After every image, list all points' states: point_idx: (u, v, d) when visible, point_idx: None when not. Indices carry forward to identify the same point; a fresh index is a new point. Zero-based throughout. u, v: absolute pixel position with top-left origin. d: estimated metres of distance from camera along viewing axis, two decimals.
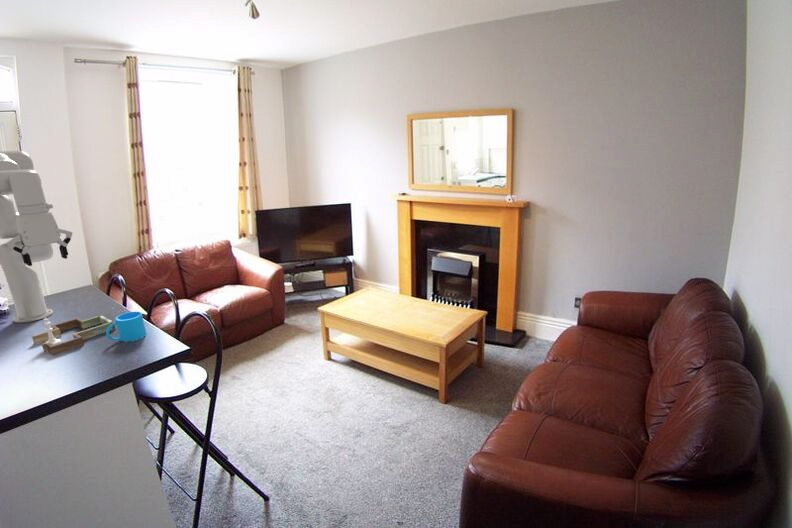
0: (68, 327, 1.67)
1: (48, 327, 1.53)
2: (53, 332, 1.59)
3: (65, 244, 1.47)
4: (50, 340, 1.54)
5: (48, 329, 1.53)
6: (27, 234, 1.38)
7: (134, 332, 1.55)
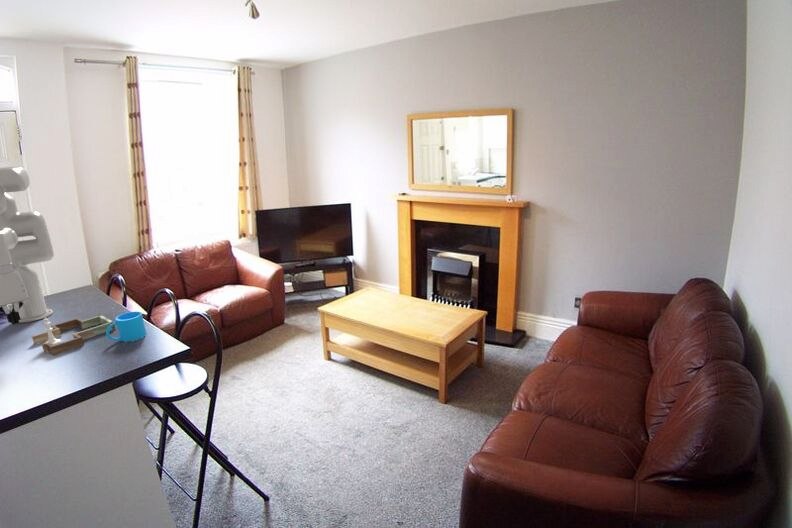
0: (68, 327, 1.67)
1: (48, 327, 1.53)
2: (53, 332, 1.59)
3: (17, 309, 1.45)
4: (50, 340, 1.54)
5: (48, 329, 1.53)
6: None
7: (134, 332, 1.55)
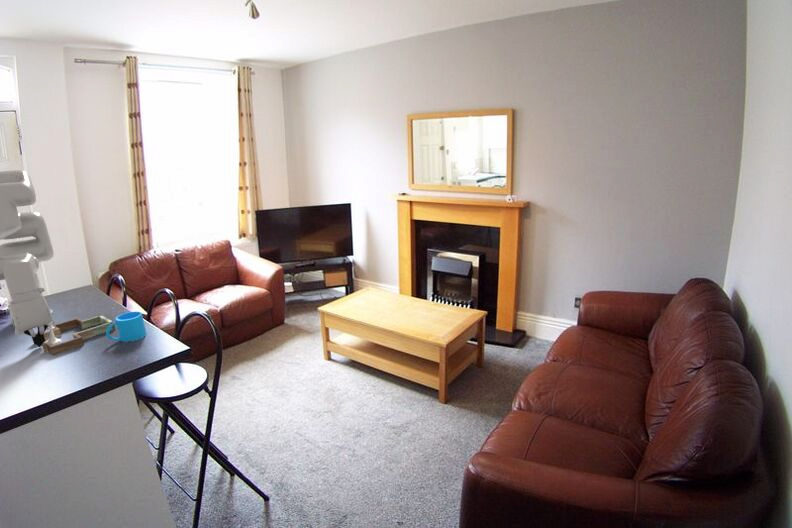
0: (68, 327, 1.67)
1: (50, 326, 1.54)
2: None
3: (42, 332, 1.51)
4: (50, 339, 1.54)
5: (50, 328, 1.53)
6: (19, 320, 1.45)
7: (134, 332, 1.55)
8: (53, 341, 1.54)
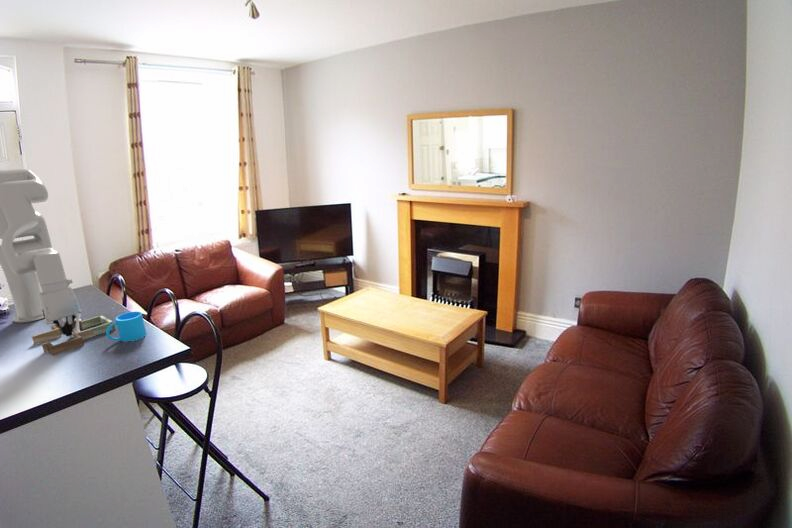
0: None
1: (78, 318, 1.59)
2: (53, 332, 1.59)
3: (70, 322, 1.57)
4: (75, 331, 1.59)
5: (77, 320, 1.59)
6: (49, 310, 1.51)
7: (134, 332, 1.55)
8: None
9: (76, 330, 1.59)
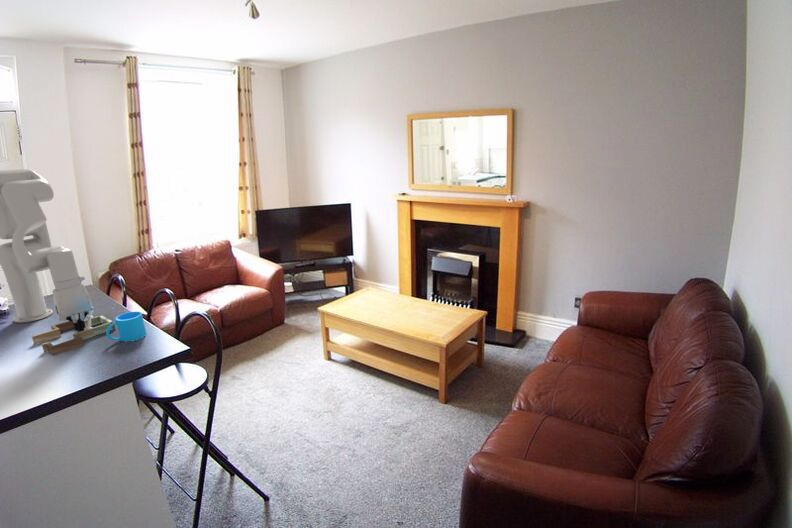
0: (68, 327, 1.67)
1: (90, 314, 1.62)
2: (53, 332, 1.59)
3: (83, 318, 1.60)
4: (87, 327, 1.62)
5: (89, 316, 1.62)
6: (62, 306, 1.54)
7: (134, 332, 1.55)
8: None
9: (88, 326, 1.62)
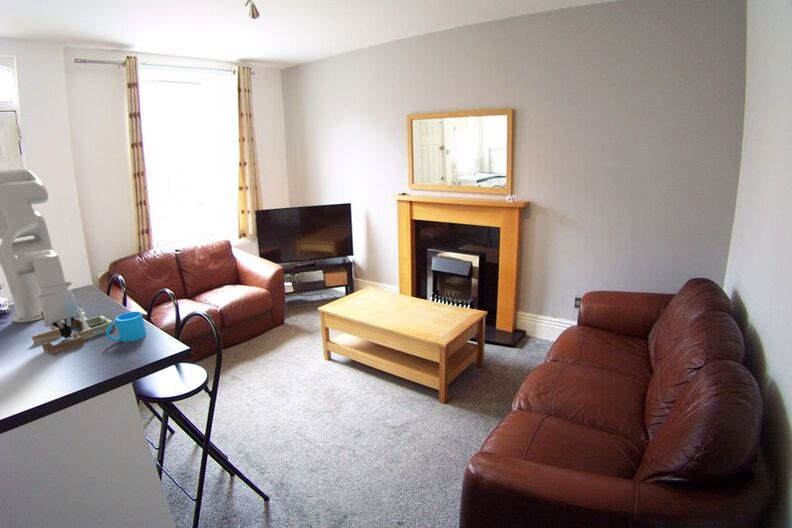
0: None
1: (83, 317, 1.60)
2: (53, 332, 1.59)
3: (69, 324, 1.57)
4: (85, 329, 1.62)
5: (83, 319, 1.60)
6: (48, 312, 1.51)
7: (134, 332, 1.55)
8: None
9: (86, 329, 1.62)
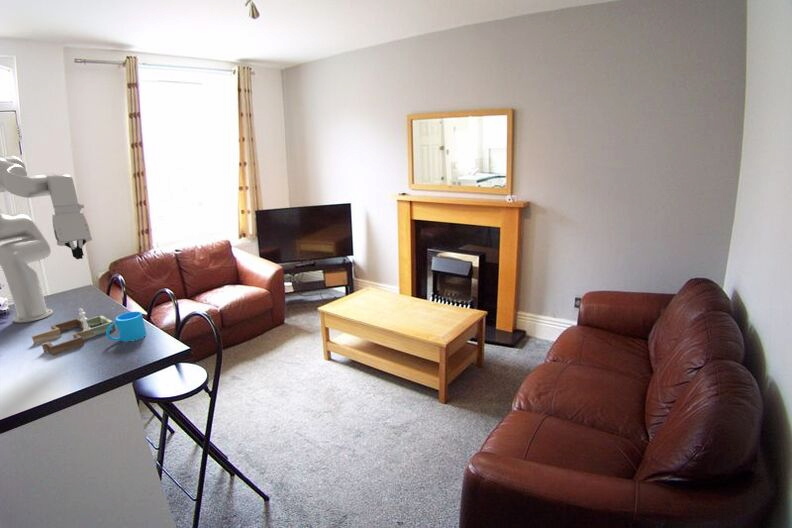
0: (68, 327, 1.67)
1: (83, 317, 1.61)
2: (53, 332, 1.59)
3: (81, 246, 1.63)
4: (85, 329, 1.62)
5: (83, 319, 1.61)
6: (61, 231, 1.57)
7: (134, 332, 1.55)
8: None
9: (86, 329, 1.62)
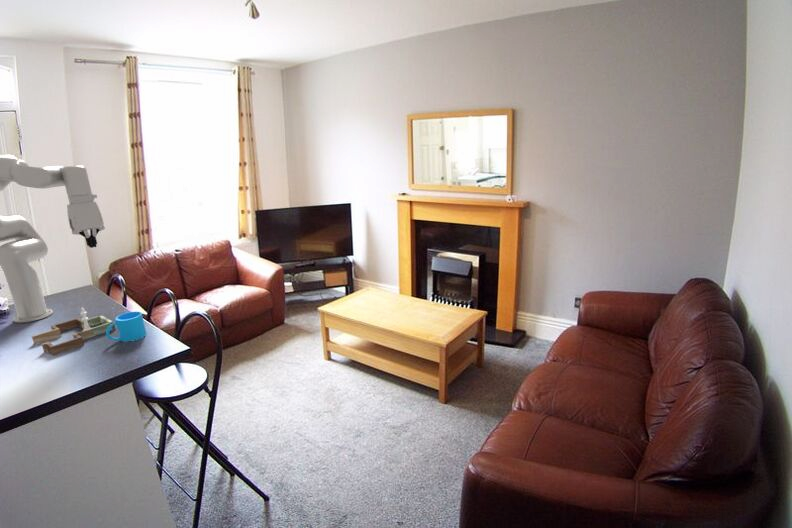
0: (68, 327, 1.67)
1: (84, 317, 1.61)
2: (53, 332, 1.59)
3: (95, 234, 1.69)
4: (85, 329, 1.62)
5: (84, 318, 1.61)
6: (76, 220, 1.62)
7: (134, 332, 1.55)
8: None
9: (86, 328, 1.62)
